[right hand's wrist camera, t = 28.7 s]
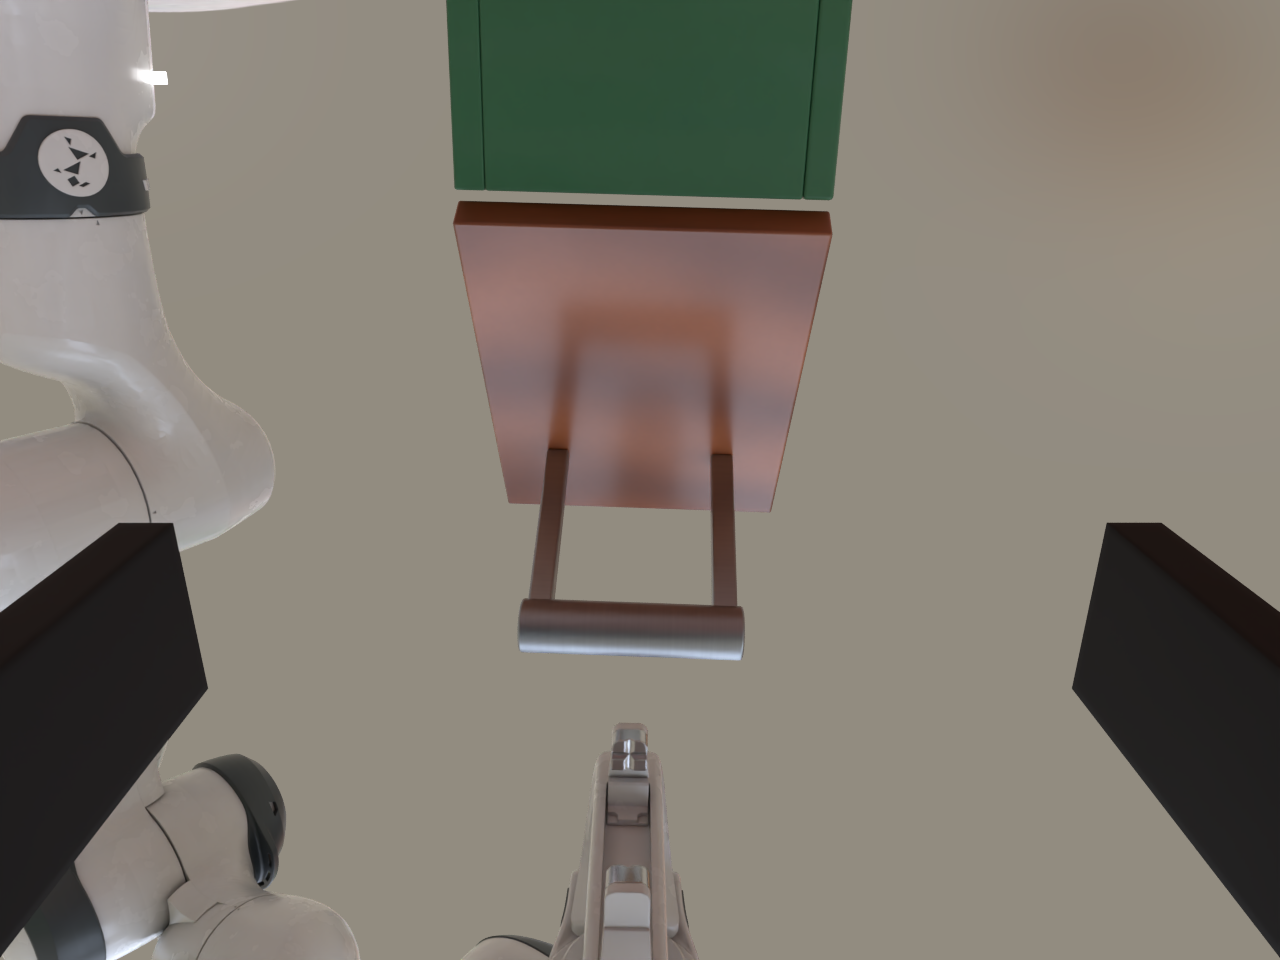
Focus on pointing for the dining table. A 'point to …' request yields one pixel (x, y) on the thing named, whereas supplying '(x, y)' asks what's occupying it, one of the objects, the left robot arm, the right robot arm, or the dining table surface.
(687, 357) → the lid
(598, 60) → the chest
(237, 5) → the dining table surface
